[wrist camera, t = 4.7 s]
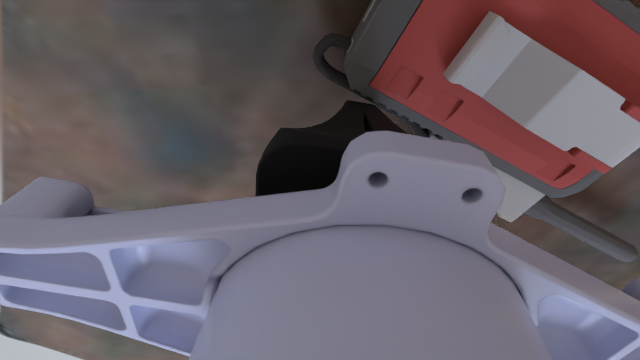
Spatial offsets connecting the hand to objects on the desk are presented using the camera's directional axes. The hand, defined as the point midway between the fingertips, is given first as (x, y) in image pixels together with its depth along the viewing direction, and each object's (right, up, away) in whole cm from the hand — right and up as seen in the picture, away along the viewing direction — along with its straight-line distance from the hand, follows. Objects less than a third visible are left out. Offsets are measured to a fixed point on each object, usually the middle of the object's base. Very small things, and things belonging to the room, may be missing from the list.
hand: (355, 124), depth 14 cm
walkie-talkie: (+8, +1, +1) cm, 8 cm away
